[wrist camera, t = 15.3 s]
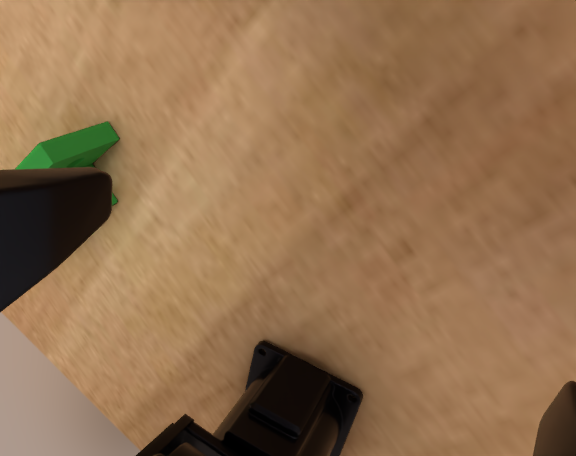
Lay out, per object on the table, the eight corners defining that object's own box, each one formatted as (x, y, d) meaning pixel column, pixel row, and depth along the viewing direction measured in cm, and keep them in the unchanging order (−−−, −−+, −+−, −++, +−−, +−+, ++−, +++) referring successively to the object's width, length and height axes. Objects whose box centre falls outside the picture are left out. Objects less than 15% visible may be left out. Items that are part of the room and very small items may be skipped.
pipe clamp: (55, 250, 34) (-6, 283, 31) (22, 203, 34) (-44, 231, 30) (147, 179, 28) (83, 210, 24) (108, 120, 27) (36, 143, 24)
